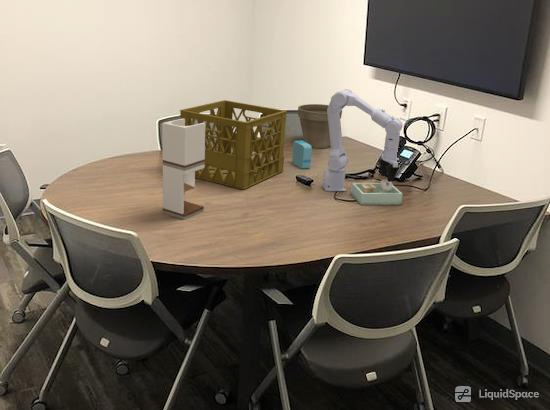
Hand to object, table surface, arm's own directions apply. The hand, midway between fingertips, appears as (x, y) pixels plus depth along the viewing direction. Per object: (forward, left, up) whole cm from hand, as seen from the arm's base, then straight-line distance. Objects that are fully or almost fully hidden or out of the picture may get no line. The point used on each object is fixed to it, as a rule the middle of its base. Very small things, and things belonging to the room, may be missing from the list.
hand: (386, 178), depth 247 cm
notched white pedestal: (-87, -13, -10) cm, 88 cm away
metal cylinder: (0, 0, -8) cm, 8 cm away
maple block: (-8, 0, -8) cm, 12 cm away
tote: (-4, 0, -9) cm, 10 cm away
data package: (-26, +49, -10) cm, 56 cm away
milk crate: (-62, +37, -10) cm, 73 cm away
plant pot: (-7, +90, -10) cm, 91 cm away
